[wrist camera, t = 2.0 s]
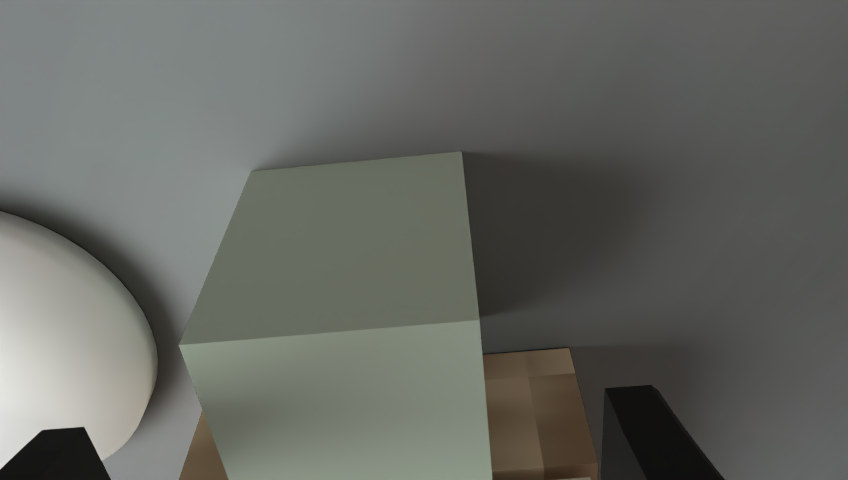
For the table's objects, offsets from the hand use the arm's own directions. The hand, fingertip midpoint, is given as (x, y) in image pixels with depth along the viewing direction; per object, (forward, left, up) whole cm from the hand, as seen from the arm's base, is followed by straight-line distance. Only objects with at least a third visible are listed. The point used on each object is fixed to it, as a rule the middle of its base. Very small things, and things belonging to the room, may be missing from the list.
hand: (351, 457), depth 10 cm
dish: (-9, -2, -5) cm, 10 cm away
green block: (0, 0, -5) cm, 5 cm away
